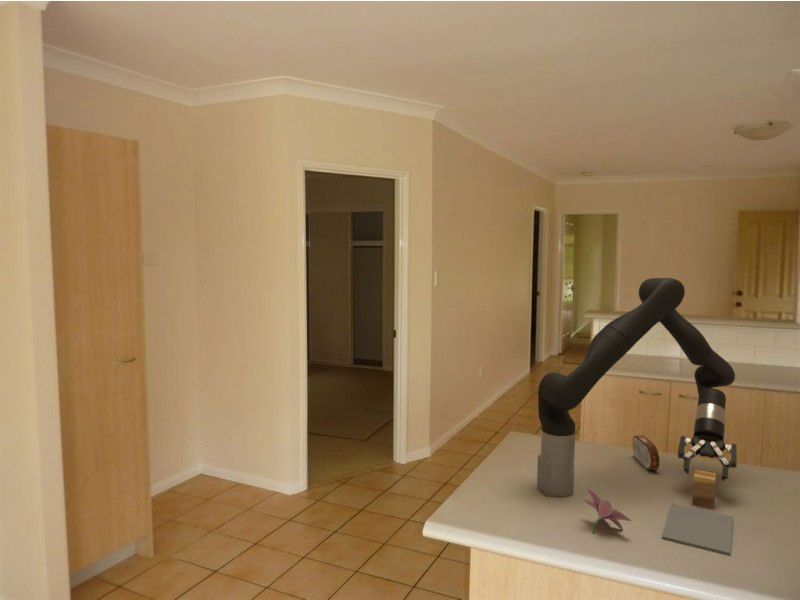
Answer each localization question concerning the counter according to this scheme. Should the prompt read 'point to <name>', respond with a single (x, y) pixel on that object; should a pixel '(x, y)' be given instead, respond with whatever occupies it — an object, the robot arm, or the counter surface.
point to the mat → (699, 529)
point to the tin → (646, 452)
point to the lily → (605, 510)
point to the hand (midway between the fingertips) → (705, 476)
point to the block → (704, 489)
